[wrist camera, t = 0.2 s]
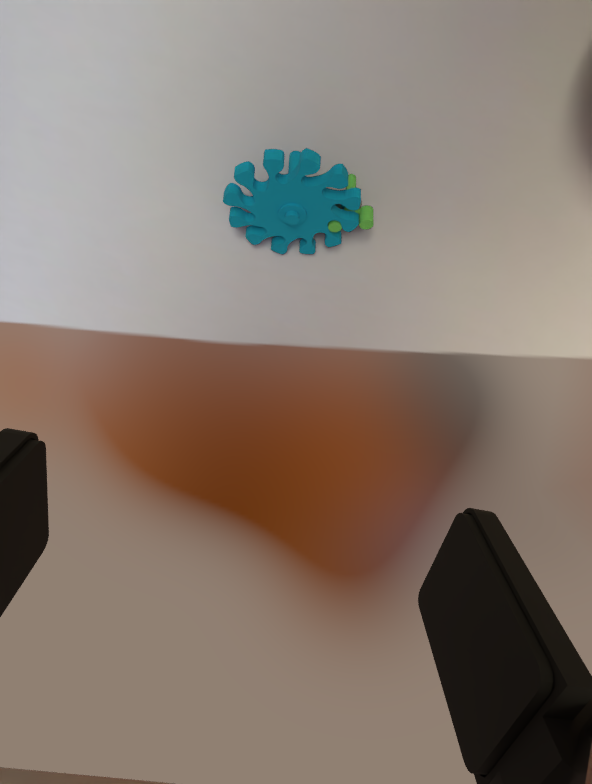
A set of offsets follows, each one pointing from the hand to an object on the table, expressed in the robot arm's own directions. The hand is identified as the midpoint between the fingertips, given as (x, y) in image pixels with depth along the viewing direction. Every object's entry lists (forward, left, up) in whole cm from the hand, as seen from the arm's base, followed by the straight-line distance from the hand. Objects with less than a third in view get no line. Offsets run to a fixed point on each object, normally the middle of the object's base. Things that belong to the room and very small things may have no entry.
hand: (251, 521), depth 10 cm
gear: (-5, 0, -31) cm, 32 cm away
